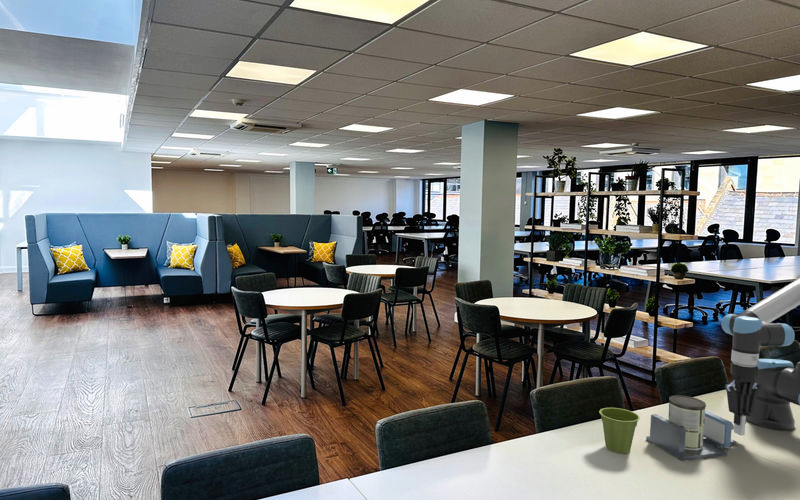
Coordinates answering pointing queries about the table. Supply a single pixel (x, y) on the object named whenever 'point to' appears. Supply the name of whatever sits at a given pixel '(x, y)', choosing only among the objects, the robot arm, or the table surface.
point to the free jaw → (717, 429)
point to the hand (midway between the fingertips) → (739, 433)
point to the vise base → (680, 441)
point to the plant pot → (618, 428)
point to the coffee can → (689, 419)
